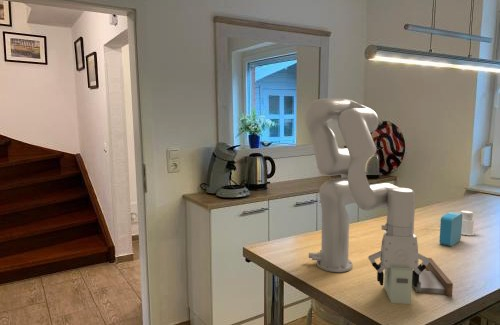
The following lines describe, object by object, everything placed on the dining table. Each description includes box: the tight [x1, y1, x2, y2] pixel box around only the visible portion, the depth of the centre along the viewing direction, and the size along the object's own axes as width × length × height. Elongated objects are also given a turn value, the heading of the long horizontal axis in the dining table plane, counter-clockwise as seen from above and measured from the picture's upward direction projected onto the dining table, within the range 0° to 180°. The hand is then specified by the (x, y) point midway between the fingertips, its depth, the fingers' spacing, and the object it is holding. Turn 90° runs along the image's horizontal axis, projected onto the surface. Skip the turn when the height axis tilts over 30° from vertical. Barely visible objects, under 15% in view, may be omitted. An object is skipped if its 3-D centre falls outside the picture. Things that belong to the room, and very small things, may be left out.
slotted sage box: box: [383, 267, 413, 305], centre depth 114 cm, size 6×10×10 cm, turn 172°
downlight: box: [460, 210, 475, 236], centre depth 170 cm, size 8×7×10 cm
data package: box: [438, 211, 462, 247], centre depth 159 cm, size 12×4×12 cm, turn 133°
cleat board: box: [412, 257, 454, 297], centre depth 124 cm, size 10×20×4 cm, turn 172°
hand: (397, 284), depth 115 cm, fingers open, 9 cm apart
